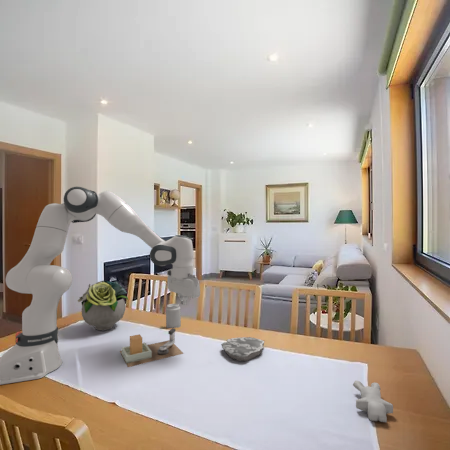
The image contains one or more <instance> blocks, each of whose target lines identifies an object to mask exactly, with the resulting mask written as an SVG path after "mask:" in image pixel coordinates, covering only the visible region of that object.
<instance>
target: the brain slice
mask: <svg viewBox="0 0 450 450" xmlns="http://www.w3.org/2000/svg"><path fill="white" fill-rule="evenodd" d="M220 345H221V348H222V350H223V351H225V353H226V354H227V356H228V357H230V358H231V359H234V360H237V361H239V362H248V361H249V360H250V361H251V360H252V359H255V358H256V357H258V356H260V354H262V352H263V349H264V346H265V341H264V340H262V339H260V338H256V337H252V336H249V337H248V336H246V337H244V336H243V337H231V338H228V339H226V342H225V341H224V342H223V343H221V344H220Z"/></svg>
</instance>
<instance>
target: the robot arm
mask: <svg viewBox="0 0 450 450" xmlns="http://www.w3.org/2000/svg"><path fill="white" fill-rule="evenodd" d="M96 215H99V216H101V217H103V218H104V219H105V220H106V222H108V223H109V224H110V225H111V226H113V228H115V229H116V230H118V231H120V232H122V233H127V234H129V235H130V234H131V235H133V236H135V237H137V238H139V239H141V240H142V241H143V242H144V243H145V244H146V245H147V246H149V248H151V249H150V251H149V258H150V261H151V262H152V263H153V264H154V265H155V266H159V267H165V266H168V265H172V268H170V269H168V270H166V276H167V278H166V279H167V289H168V291H169V292H172V293H175V294H177V296H178V299H179V305H182V306H187V305H188V300H189V298H191V299H197V298H200V296H201V287H200V282H199V279H198V277H197V275H195V274H194V264H193V257H194V246H193V241H192V239H191V238H190V237H189V236H186V235H180V234H177V235H176V234H175V235H174V236H172V237H171V238H170V239H167V240H165V239H164V238H162V237H160V236H159V235H158V234H157V233H156V232H155V231H154V230H152V229H151V228H150V226H149V225H147V224H146V222H145V221H144V220H143V219H142V218H141V217H140V216H139V214H137V212H136V211H135V210H134V209H133V208H132V207H131V206H130V205H129V203H127V202H126V201H125V200H124V199H123V198H121V197H120V196H119V195H117V193H116V194H115V193H114V192H113V191H110V190H104V191H102V192H100V193H98V194H97V192H96V191H95V190H91V189H88V188H85V187H83V186H72V187H70V188H68V189H67V190H66V191H65V193H64V195H63V203H55V202H54V203H49V204H47V205H45V206H44V208H43V209H42V212H41V214H40V216H39V217H38V222H37V224H36V225H35V227H36V228H35V230H34V234H33V237H32V240H31V243H30V246H29V248H28V250H27V252H26V253H25V255H24V256H23V257H22V259H21V260H20V261H19V262H18V263H17V264H16V265H15V266H14V267H12V268H10V269H9V270H8V271H7V274H6V276H5V285H6V286H7V289H8V288H9V289H10V290H11V291H14V292H16V293H20V294H26V295H27V294H29V295H30V294H31V295H32V299H31V302H30V305H29V306H27V307H26V308H25V309H24V310H23V311H22V314H21V316H22V317H21V319H22V320H21V324H22V325H21V326H22V327H21V328H22V329H21V331H17V332H16V333H15V335H14V336H15V344H14V345H13V346H12V347H10V349H8V350H7V351H6V352H4V353H3V354H2V355H1V356H0V385H8V384H12V383H21V382H26V381H31V380H38V379H41V378H44V377H45V376H46V375H47V374H50V373H51V372H53V371H55V370H57V369H58V368H60V367H61V366H62V364H63V361H62V359H61V354H60V351H59V345H58V344H59V335H60V334H59V327H58V325H57V324H58V323H57V321H58V319H57V314H58V306H59V304H60V301H61V298H62V296H63V295H64V294H65V293H66V292H67V291H68V290H69V289H70V287H71V285H72V282H73V275H72V273H71V271H70V270H69V269H68V268H66V267H63V266H60V265H52V264H51V263H52V262H53V260H55V259H56V257H58V256H60V255H61V254H62V253H63V251H64V248H65V245H66V239H67V237H68V233H69V227H70V225H71V223H72V224H74V223H75V224H76V223H85V222H86V223H87V222H90V221H92V220H93V219H94V218H96Z"/></svg>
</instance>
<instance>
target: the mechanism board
mask: <svg viewBox="0 0 450 450" xmlns="http://www.w3.org/2000/svg"><path fill="white" fill-rule="evenodd" d="M169 340H170V339H169ZM169 340H164V341H160V342H155V343H150V344H147V346H148V347H149V348H150V350H151V351H152V358H147V359H143V360H139V361H135V362H131V363H127V364H126V362H125V360H124V358H123V356H122V350H119V353H120V354H121V358H122V359H123V360H124V363H125V365H126V366H127V368H131V367H134V366H139V365H143V364H146V363H151V362H155V361H159V360H160V361H161V360H163V359H167V358H172V357H175V356H180V355H183V354H185V353H184V352H183V351H182V350H181V349H180V348H179V347H178V346H177V345H176V344H175V343H174V344H172V345H171V346H170V347H169V348H167V350H166V351H164V352H161V351H159V347H160V346H163V345H164V344H166V343H167V342H168V341H169Z"/></svg>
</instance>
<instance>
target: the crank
mask: <svg viewBox="0 0 450 450" xmlns="http://www.w3.org/2000/svg"><path fill="white" fill-rule="evenodd" d="M176 332H177V331H176V328H170V329H169V330H168V333H167V334H168V335H169V341H168V340H167V341H168V342H167V343H166V344H164V345H163V346H160V347H159V351H161V352H164V351H166V350H167V348H169V347H170V346H171V345H172V344H175V343H176V341H175V339H176V338H175V336H176V335H175V333H176Z"/></svg>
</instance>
